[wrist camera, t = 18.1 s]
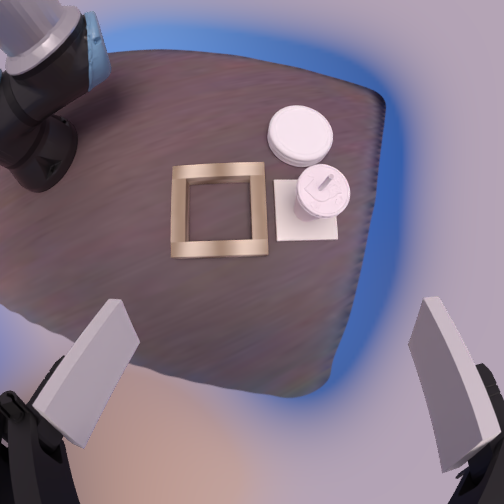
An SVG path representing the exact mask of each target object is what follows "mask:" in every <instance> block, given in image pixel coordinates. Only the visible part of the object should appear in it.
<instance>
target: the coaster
mask: <svg viewBox="0 0 504 504" xmlns="http://www.w3.org/2000/svg"><path fill="white" fill-rule="evenodd" d="M267 139H268V144H269V147H270V149H271V150H272V152H273V153H274V155H275V156H276V157H277V158H278V159H280V160H281V161H283V162H284V163H286V164H289V165H292V166H296V167H308V166H312V165H315V164H317V163H319V162H320V161H321V160H322V159H323V158H324V157H325V156H326V154H327V153H328V151H329V150H330V148H331V146H332V142H333V132H332V129H331V126H330V124H329V122H328V121H327V120H326V118H325V117H324V116H323V115H321V114H320V113H319V112H317V111H315V110H314V109H311V108H309V107H305V106H298V105H296V106H288V107H285V108H283V109H281V110H279V111H278V112H277V113H276V114H275V115H274V116H273V117H272V119H271V121H270V124H269V128H268V134H267Z"/></svg>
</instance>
